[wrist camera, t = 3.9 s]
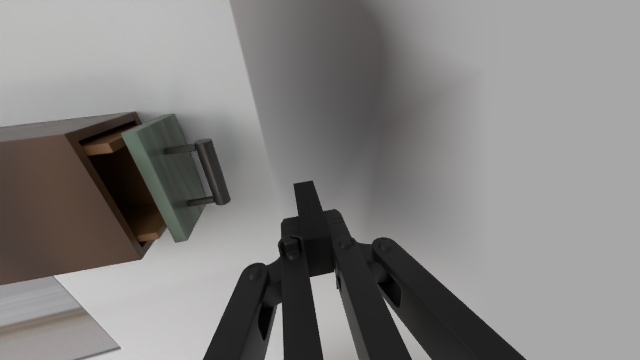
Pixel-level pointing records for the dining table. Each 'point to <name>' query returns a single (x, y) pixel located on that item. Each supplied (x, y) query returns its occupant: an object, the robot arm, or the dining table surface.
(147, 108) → the dining table surface
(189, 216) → the drawer
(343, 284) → the robot arm
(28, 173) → the cabinet
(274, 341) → the dining table surface
